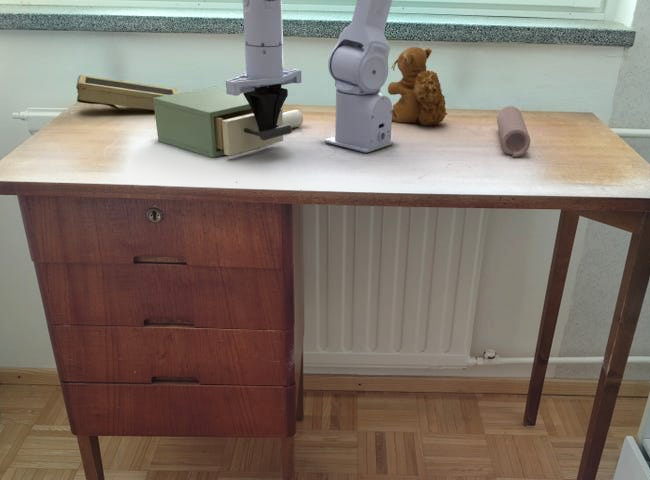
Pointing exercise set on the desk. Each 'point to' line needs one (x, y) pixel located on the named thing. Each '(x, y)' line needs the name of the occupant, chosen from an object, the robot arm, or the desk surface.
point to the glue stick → (292, 118)
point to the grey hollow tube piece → (513, 131)
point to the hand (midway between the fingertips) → (267, 135)
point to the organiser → (195, 118)
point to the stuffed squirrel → (417, 90)
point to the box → (119, 92)
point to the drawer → (245, 132)
